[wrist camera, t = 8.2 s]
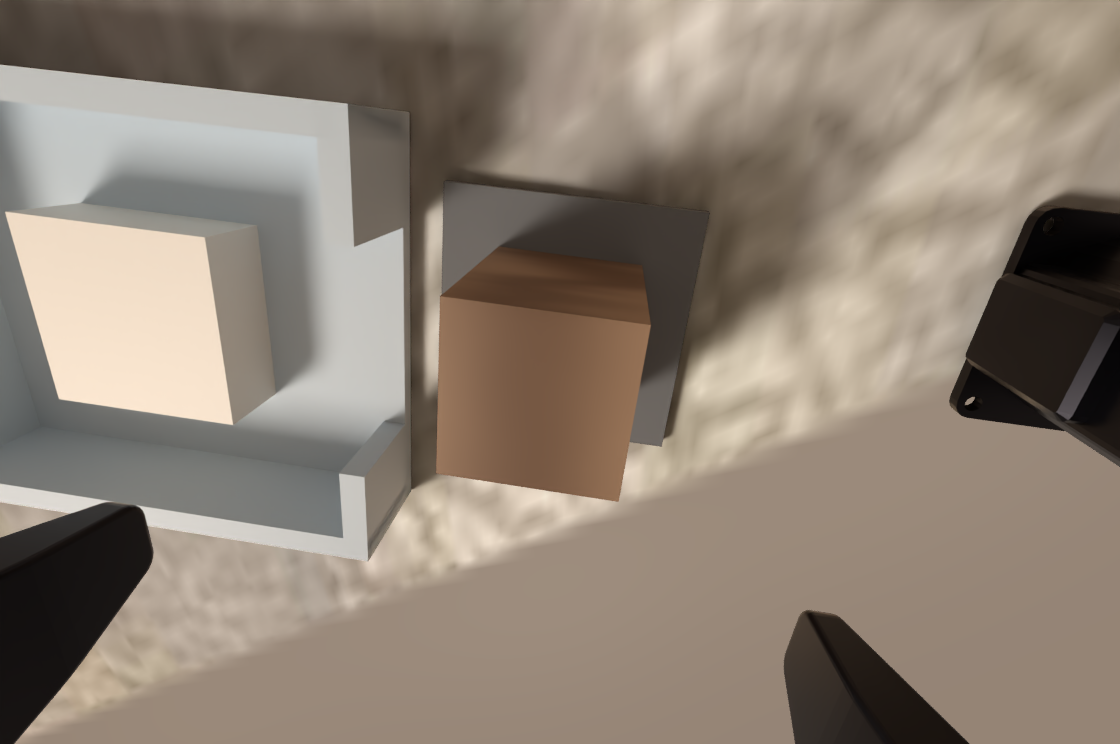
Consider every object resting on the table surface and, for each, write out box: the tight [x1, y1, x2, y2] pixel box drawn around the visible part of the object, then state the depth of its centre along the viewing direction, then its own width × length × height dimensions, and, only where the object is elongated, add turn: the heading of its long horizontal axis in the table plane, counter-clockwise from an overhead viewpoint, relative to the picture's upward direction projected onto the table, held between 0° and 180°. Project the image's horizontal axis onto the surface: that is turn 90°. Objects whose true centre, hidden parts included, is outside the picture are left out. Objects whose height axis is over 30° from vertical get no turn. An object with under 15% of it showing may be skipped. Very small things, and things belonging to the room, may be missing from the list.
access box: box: [0, 65, 411, 561], centre depth 18 cm, size 16×14×4 cm
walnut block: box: [436, 246, 651, 502], centre depth 15 cm, size 4×4×6 cm
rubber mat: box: [442, 180, 710, 447], centre depth 18 cm, size 8×8×1 cm
